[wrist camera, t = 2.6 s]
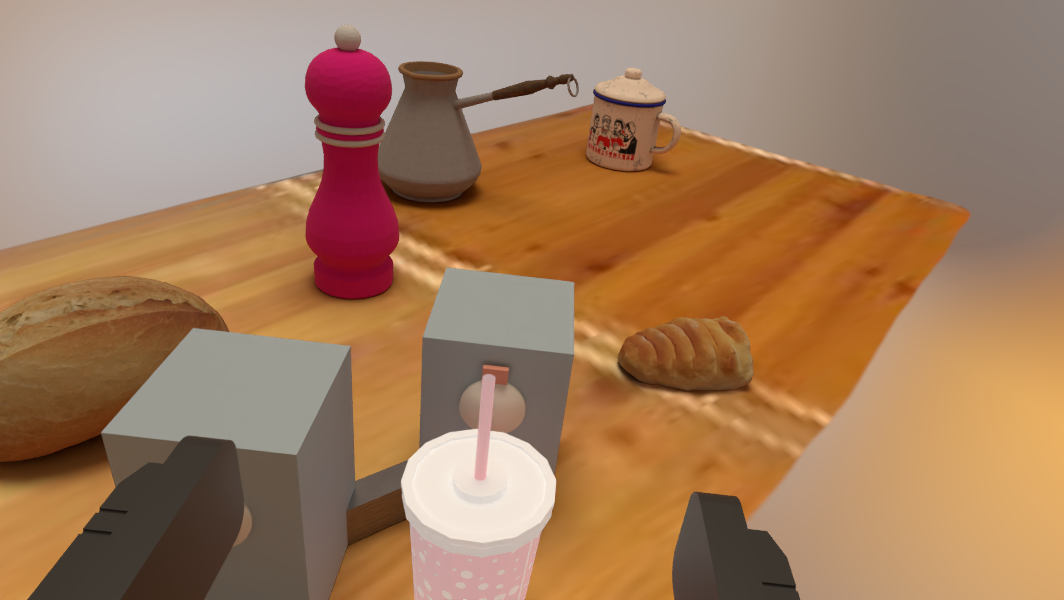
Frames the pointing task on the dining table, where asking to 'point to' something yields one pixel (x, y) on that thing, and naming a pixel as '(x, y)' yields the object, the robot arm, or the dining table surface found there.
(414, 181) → the coffee pot
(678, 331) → the pastry
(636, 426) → the dining table surface
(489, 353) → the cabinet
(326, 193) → the pepper mill
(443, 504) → the beverage cup
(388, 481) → the track rail
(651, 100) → the teacup with lid
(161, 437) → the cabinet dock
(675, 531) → the dining table surface
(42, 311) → the bread roll
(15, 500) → the dining table surface
